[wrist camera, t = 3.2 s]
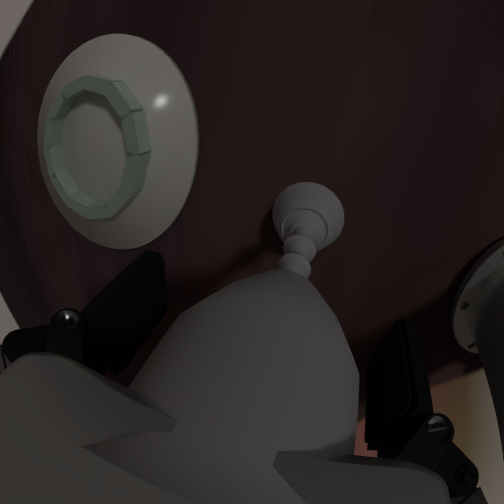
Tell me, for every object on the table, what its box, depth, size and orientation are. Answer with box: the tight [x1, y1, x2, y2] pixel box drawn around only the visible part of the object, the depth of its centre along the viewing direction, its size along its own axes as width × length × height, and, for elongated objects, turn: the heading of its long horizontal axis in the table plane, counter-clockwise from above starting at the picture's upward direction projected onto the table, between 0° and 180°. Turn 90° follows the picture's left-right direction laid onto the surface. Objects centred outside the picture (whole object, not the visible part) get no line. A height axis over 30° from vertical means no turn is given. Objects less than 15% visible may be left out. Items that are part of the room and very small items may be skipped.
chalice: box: [82, 182, 359, 504], centre depth 12 cm, size 7×7×18 cm
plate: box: [37, 34, 200, 249], centre depth 20 cm, size 20×20×2 cm
